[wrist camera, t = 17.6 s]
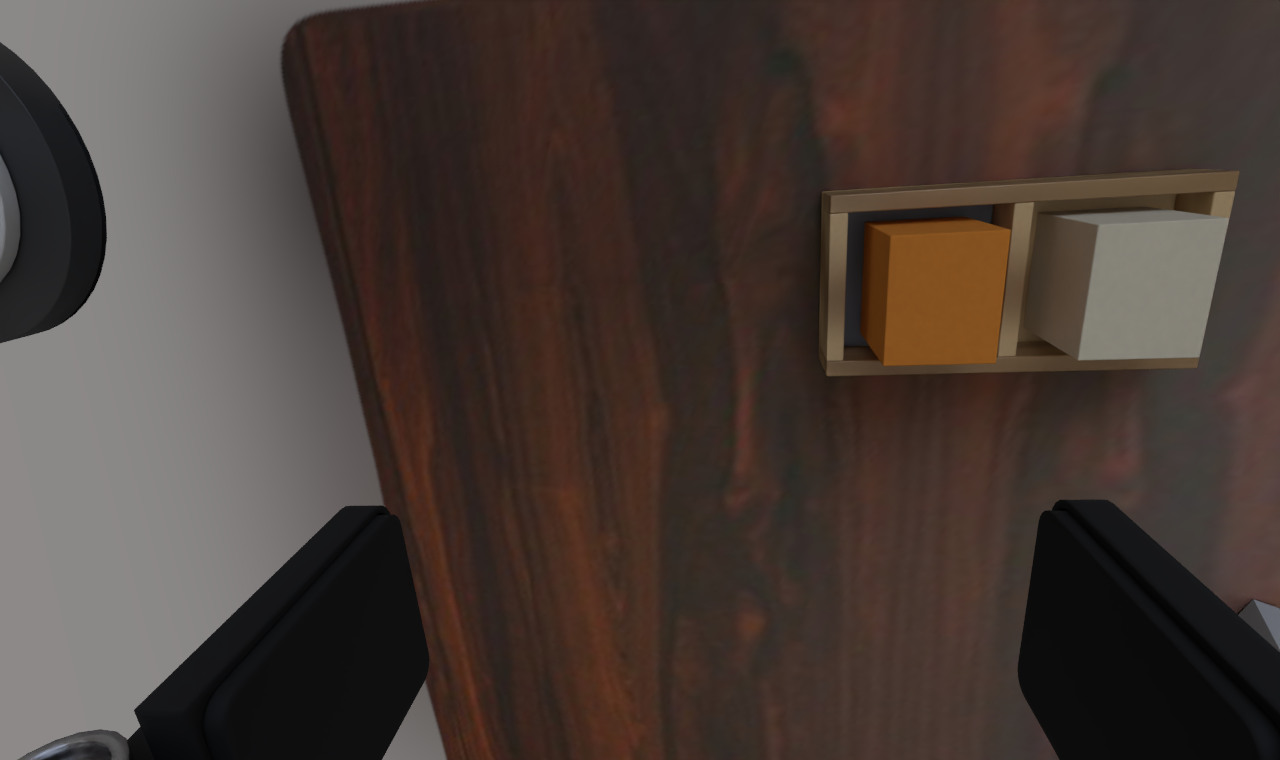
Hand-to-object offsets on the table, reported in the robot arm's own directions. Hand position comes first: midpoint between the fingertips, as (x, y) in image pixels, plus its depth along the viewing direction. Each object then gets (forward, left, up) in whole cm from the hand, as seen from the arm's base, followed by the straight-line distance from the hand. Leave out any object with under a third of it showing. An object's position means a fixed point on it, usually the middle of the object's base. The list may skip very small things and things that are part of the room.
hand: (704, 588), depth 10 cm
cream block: (+11, +13, -26) cm, 31 cm away
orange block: (+6, +7, -26) cm, 27 cm away
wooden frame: (+8, +10, -26) cm, 29 cm away
